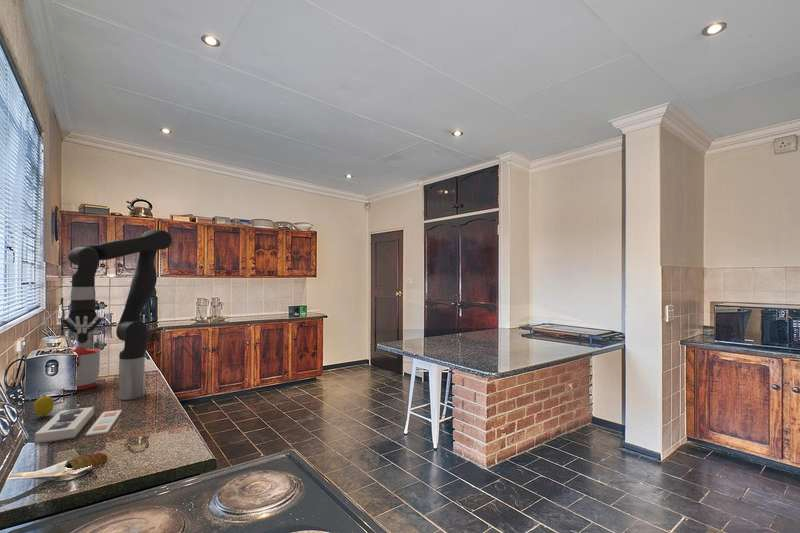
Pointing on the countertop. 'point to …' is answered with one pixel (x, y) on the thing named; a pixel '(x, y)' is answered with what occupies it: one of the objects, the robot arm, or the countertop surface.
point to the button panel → (64, 433)
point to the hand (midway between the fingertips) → (82, 342)
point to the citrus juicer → (87, 367)
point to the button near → (60, 425)
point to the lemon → (43, 405)
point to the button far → (77, 411)
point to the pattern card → (104, 423)
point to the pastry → (86, 460)
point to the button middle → (67, 416)
